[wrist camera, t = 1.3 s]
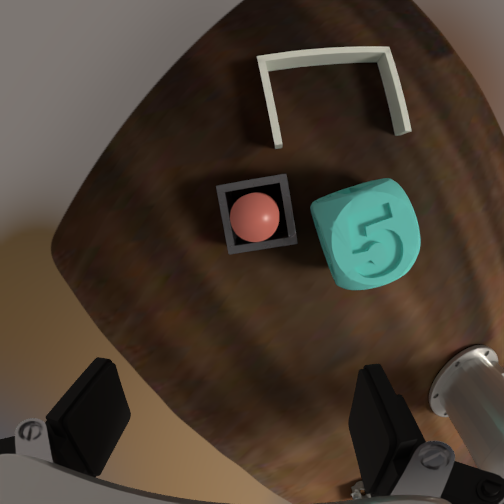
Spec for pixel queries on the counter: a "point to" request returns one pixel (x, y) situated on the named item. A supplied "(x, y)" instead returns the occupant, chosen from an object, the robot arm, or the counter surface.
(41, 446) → the robot arm
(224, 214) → the button collar
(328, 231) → the decorative dice
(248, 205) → the button
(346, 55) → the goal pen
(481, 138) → the counter surface
